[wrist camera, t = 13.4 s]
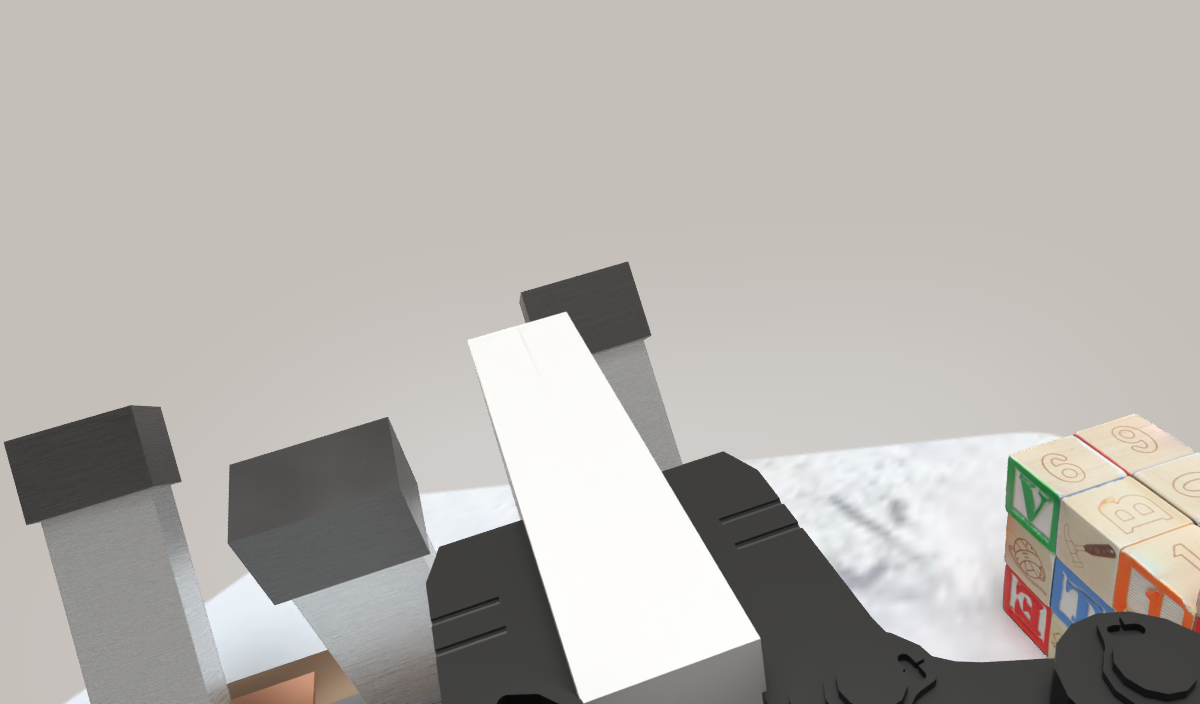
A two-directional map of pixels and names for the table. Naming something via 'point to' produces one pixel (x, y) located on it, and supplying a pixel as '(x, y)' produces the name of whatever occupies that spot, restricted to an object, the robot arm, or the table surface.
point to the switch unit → (298, 684)
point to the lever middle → (345, 553)
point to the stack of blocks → (1102, 529)
